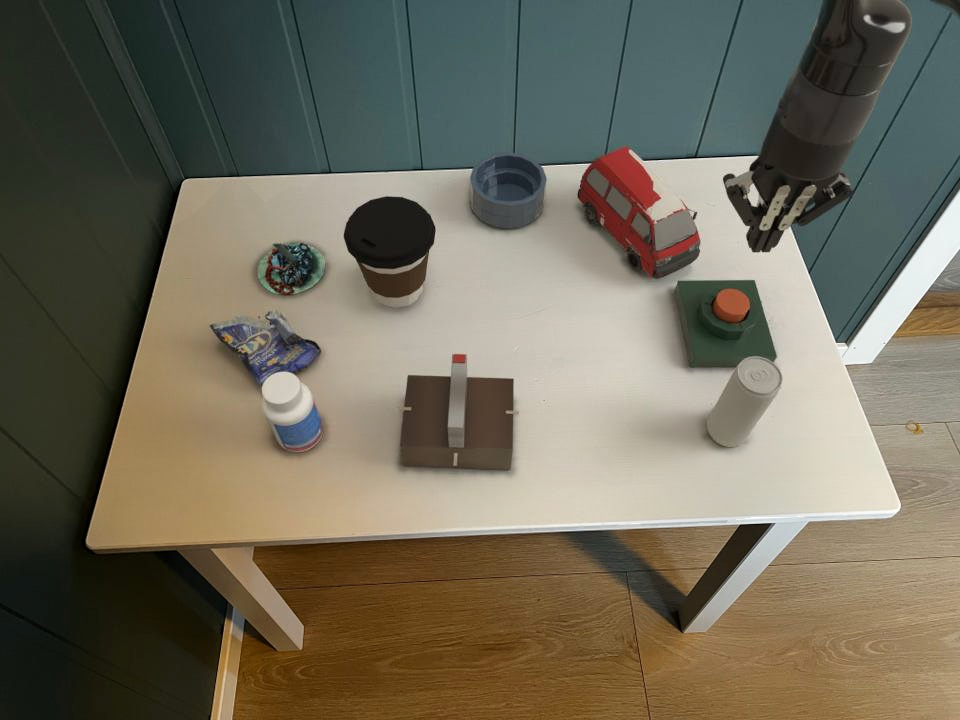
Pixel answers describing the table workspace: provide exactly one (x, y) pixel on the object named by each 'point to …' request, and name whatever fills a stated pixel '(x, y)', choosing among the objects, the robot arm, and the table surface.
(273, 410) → the pill bottle
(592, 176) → the toy car
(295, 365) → the snack package
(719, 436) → the beverage can
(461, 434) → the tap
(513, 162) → the grey round pet bowl
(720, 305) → the button
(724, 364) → the green button base
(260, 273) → the dish
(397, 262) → the coffee cup
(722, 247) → the table surface
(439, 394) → the base
